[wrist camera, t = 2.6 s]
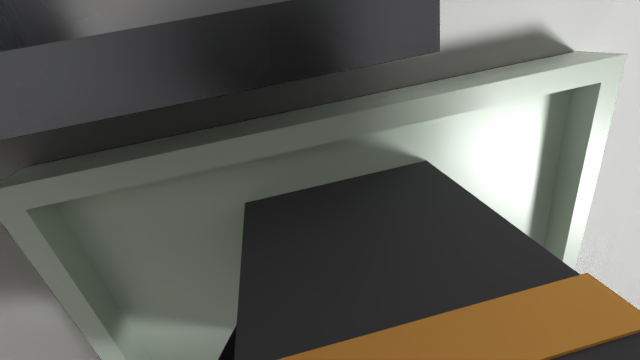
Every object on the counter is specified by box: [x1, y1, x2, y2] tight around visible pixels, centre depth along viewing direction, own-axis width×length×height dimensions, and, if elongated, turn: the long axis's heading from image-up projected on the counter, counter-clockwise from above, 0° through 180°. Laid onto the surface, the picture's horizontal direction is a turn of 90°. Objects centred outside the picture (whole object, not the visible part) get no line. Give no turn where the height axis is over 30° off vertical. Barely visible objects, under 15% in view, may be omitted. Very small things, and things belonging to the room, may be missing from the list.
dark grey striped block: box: [234, 160, 640, 360], centre depth 6 cm, size 5×5×6 cm
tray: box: [0, 51, 627, 360], centre depth 9 cm, size 13×8×1 cm, turn 99°
